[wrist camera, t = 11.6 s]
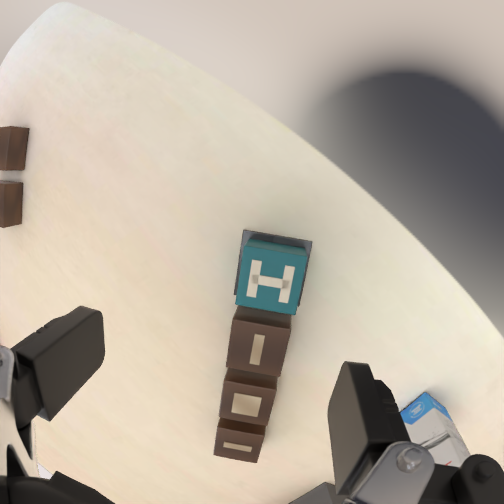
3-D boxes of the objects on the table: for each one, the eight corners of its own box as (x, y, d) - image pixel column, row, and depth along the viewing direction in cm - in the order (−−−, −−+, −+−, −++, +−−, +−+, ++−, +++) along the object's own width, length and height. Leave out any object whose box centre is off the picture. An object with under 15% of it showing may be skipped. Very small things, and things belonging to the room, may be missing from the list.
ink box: (425, 389, 27) (478, 492, 13) (445, 407, 28) (495, 501, 13) (364, 437, 29) (386, 545, 15) (388, 452, 30) (414, 550, 15)
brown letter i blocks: (6, 130, 27) (-12, 128, 24) (29, 128, 26) (10, 126, 23) (-1, 219, 29) (-19, 222, 26) (21, 223, 29) (2, 228, 26)
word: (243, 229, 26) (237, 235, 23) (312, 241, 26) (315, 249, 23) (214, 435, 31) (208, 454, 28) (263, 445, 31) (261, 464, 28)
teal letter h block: (248, 238, 26) (243, 245, 23) (305, 248, 26) (307, 256, 23) (240, 291, 27) (234, 305, 24) (294, 301, 27) (295, 315, 24)
